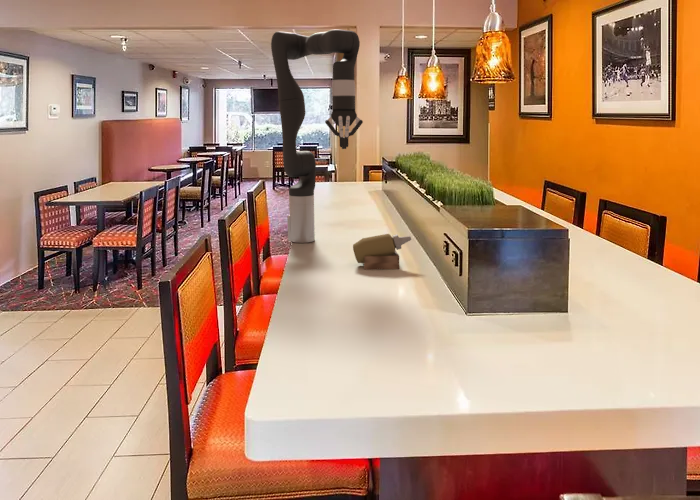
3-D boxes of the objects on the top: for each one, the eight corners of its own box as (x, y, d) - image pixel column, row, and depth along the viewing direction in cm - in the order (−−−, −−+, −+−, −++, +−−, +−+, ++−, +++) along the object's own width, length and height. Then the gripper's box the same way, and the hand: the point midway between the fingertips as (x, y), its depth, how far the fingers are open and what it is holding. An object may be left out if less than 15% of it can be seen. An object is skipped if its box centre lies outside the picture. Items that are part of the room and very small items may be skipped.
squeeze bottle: (354, 246, 190) (408, 231, 189) (360, 269, 187) (415, 254, 186) (349, 237, 183) (406, 221, 181) (355, 261, 180) (413, 245, 178)
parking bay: (364, 269, 181) (364, 256, 180) (361, 260, 192) (361, 248, 191) (399, 268, 181) (399, 256, 180) (394, 260, 192) (394, 248, 191)
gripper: (323, 94, 190) (324, 149, 193) (364, 94, 190) (364, 149, 194) (323, 95, 197) (323, 148, 201) (363, 95, 198) (363, 148, 201)
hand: (344, 148), depth 197 cm, fingers closed
